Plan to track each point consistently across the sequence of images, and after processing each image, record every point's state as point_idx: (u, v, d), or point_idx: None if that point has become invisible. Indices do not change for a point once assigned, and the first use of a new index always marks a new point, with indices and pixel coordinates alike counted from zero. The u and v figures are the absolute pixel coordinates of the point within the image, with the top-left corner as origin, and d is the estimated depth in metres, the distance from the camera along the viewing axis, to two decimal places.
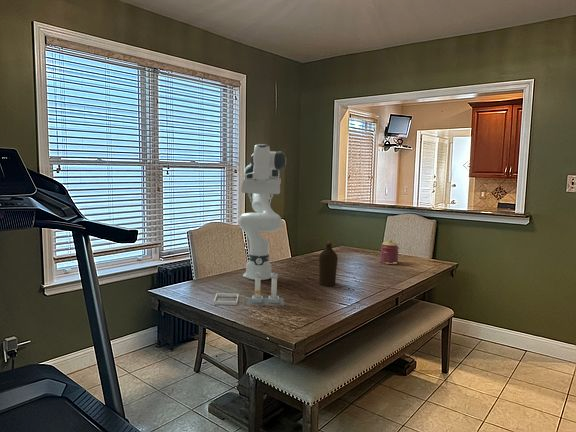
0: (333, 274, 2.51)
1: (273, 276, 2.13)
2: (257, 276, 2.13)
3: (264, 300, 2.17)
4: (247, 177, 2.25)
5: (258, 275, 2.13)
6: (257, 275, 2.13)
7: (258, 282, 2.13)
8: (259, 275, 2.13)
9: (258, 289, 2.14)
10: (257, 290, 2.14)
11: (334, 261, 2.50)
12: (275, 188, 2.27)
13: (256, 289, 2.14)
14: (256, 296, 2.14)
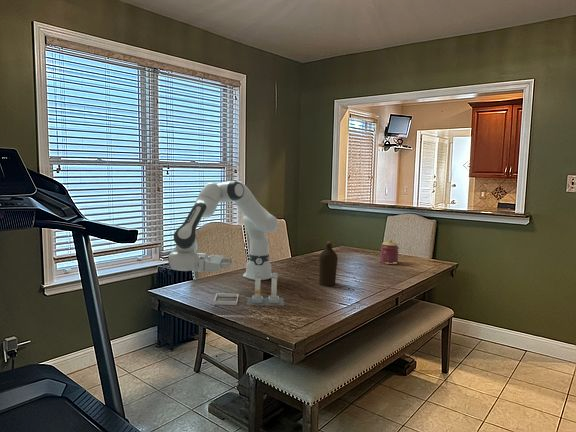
0: (333, 274, 2.51)
1: (273, 276, 2.13)
2: (257, 276, 2.13)
3: (264, 300, 2.17)
4: (203, 258, 2.05)
5: (258, 275, 2.13)
6: (257, 275, 2.13)
7: (258, 282, 2.13)
8: (259, 275, 2.13)
9: (258, 289, 2.14)
10: (257, 290, 2.14)
11: (334, 261, 2.50)
12: (217, 255, 2.20)
13: (256, 289, 2.14)
14: (256, 296, 2.14)
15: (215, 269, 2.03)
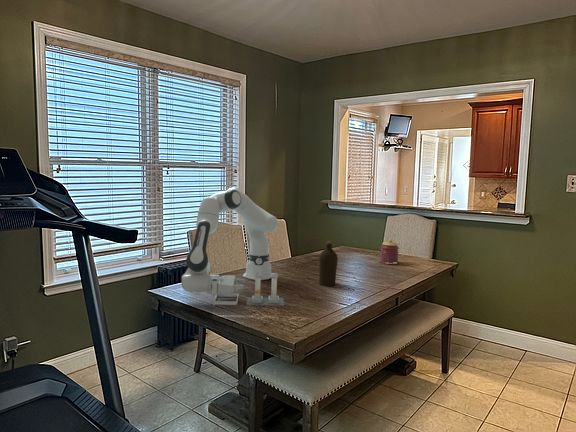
0: (333, 274, 2.51)
1: (273, 276, 2.13)
2: (257, 276, 2.13)
3: (264, 300, 2.17)
4: (216, 280, 2.06)
5: (258, 275, 2.13)
6: (257, 275, 2.13)
7: (258, 282, 2.13)
8: (259, 275, 2.13)
9: (258, 289, 2.14)
10: (257, 290, 2.14)
11: (334, 261, 2.50)
12: (229, 276, 2.21)
13: (256, 289, 2.14)
14: (256, 296, 2.14)
15: (228, 291, 2.04)
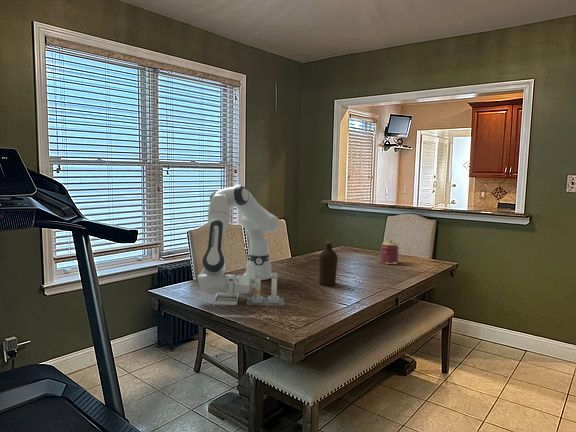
0: (333, 274, 2.51)
1: (273, 276, 2.13)
2: (257, 276, 2.13)
3: (264, 300, 2.17)
4: (232, 280, 2.07)
5: (258, 275, 2.13)
6: (257, 275, 2.13)
7: (258, 282, 2.13)
8: (259, 275, 2.13)
9: (258, 289, 2.14)
10: (257, 290, 2.14)
11: (334, 261, 2.50)
12: (244, 276, 2.22)
13: (256, 289, 2.14)
14: (256, 296, 2.14)
15: (245, 291, 2.05)
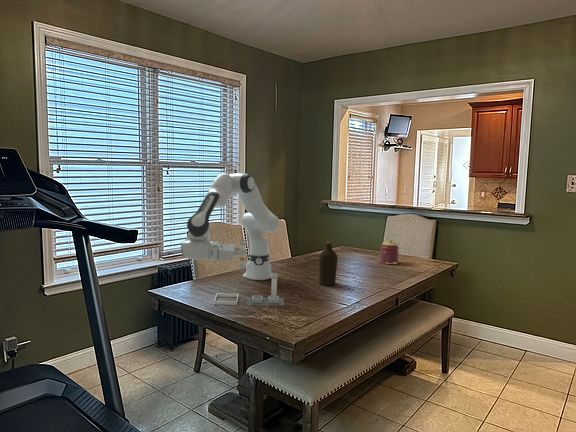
0: (333, 274, 2.51)
1: (273, 276, 2.13)
2: (242, 243, 2.10)
3: (264, 300, 2.17)
4: (216, 246, 2.03)
5: (243, 242, 2.10)
6: (242, 242, 2.10)
7: (243, 249, 2.10)
8: (244, 242, 2.10)
9: (243, 257, 2.11)
10: (242, 258, 2.11)
11: (334, 261, 2.50)
12: (229, 244, 2.18)
13: (241, 257, 2.11)
14: (241, 264, 2.11)
15: (229, 257, 2.01)
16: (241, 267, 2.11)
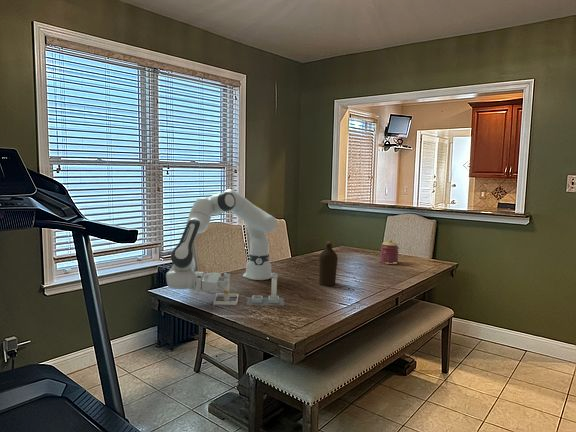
0: (333, 274, 2.51)
1: (273, 276, 2.13)
2: (226, 276, 2.12)
3: (264, 300, 2.17)
4: (200, 277, 2.06)
5: (227, 275, 2.12)
6: (226, 275, 2.12)
7: None
8: (228, 275, 2.12)
9: (227, 289, 2.13)
10: (226, 291, 2.13)
11: (334, 261, 2.50)
12: (214, 273, 2.21)
13: (225, 289, 2.13)
14: (225, 297, 2.14)
15: (212, 288, 2.04)
16: (225, 300, 2.13)
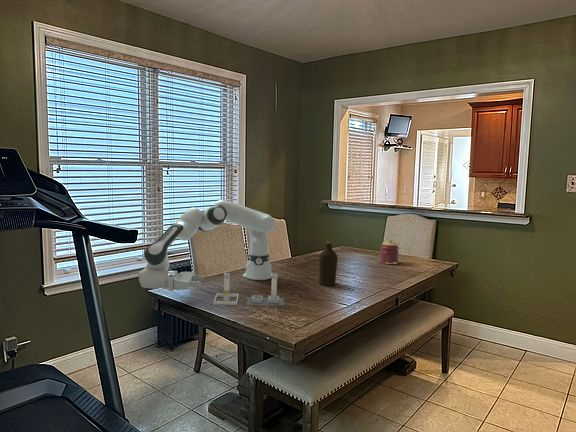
0: (333, 274, 2.51)
1: (273, 276, 2.13)
2: (226, 276, 2.12)
3: (264, 300, 2.17)
4: (172, 276, 2.05)
5: (227, 275, 2.12)
6: (226, 275, 2.12)
7: (227, 282, 2.13)
8: (228, 275, 2.12)
9: (227, 289, 2.13)
10: (226, 291, 2.13)
11: (334, 261, 2.50)
12: (188, 272, 2.20)
13: (225, 289, 2.13)
14: (225, 297, 2.14)
15: (184, 287, 2.03)
16: (225, 300, 2.13)
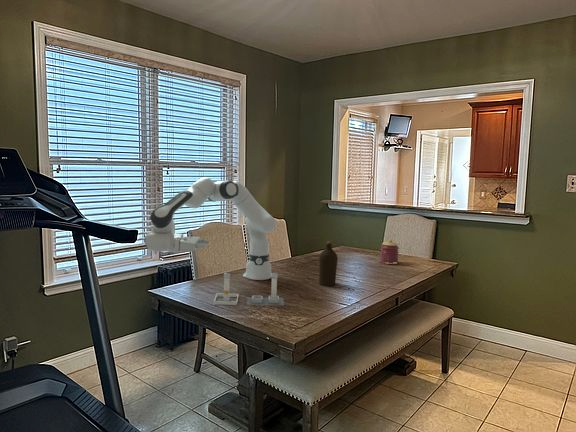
0: (333, 274, 2.51)
1: (273, 276, 2.13)
2: (226, 276, 2.12)
3: (264, 300, 2.17)
4: (178, 238, 2.07)
5: (227, 275, 2.12)
6: (226, 275, 2.12)
7: (227, 282, 2.13)
8: (228, 275, 2.12)
9: (227, 289, 2.13)
10: (226, 291, 2.13)
11: (334, 261, 2.50)
12: (194, 237, 2.22)
13: (225, 289, 2.13)
14: (225, 297, 2.13)
15: (190, 249, 2.05)
16: (225, 300, 2.13)
